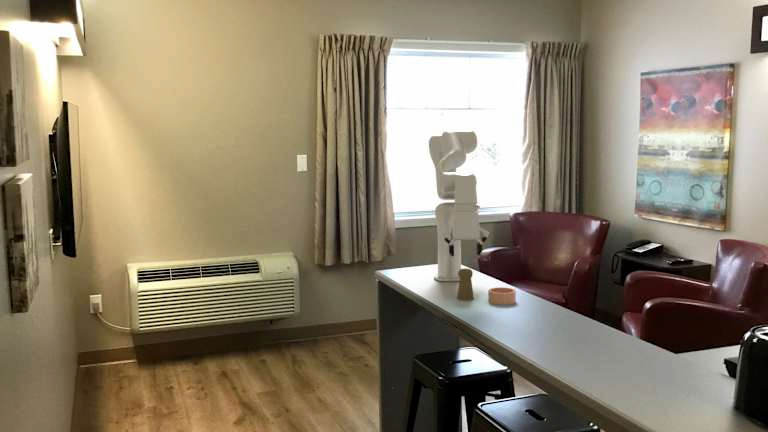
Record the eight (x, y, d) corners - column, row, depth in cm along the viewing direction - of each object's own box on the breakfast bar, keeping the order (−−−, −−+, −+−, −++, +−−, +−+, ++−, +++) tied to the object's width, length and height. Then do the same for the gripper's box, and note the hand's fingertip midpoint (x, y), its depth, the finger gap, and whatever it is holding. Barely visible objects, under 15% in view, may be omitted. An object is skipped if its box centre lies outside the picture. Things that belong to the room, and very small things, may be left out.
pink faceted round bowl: (486, 298, 250) (486, 287, 249) (511, 297, 251) (511, 287, 250) (492, 305, 241) (492, 293, 240) (518, 304, 241) (518, 292, 241)
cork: (473, 296, 253) (473, 267, 252) (474, 300, 247) (474, 270, 246) (457, 296, 254) (456, 267, 253) (457, 300, 248) (457, 270, 247)
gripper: (486, 206, 251) (486, 253, 253) (439, 207, 250) (440, 254, 251) (491, 208, 243) (491, 256, 245) (442, 209, 242) (443, 257, 244)
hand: (465, 255), depth 248 cm, fingers open, 9 cm apart
